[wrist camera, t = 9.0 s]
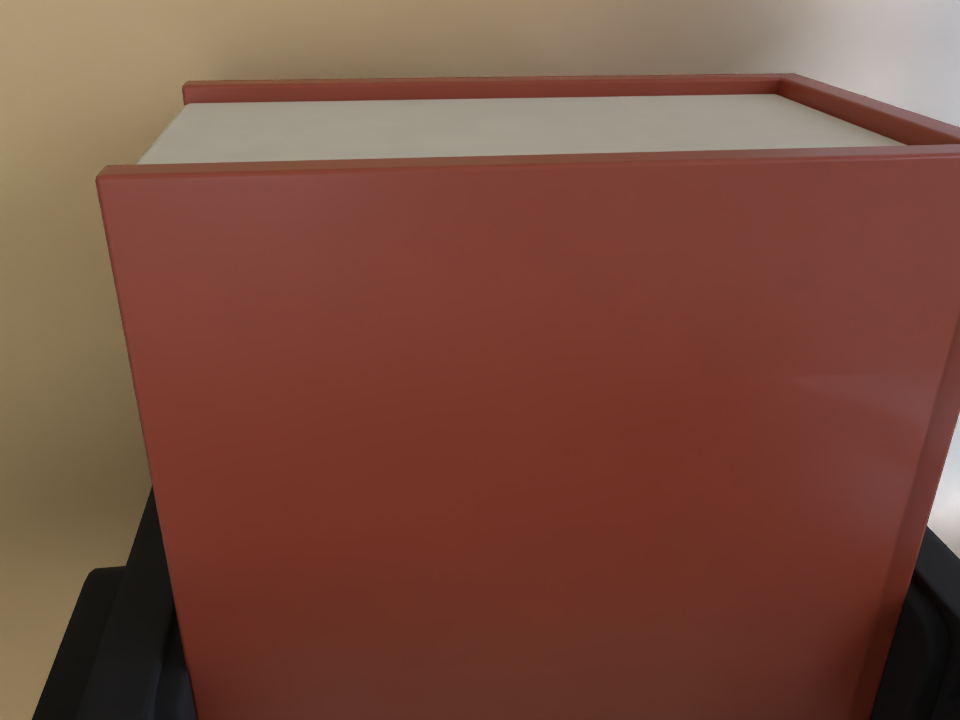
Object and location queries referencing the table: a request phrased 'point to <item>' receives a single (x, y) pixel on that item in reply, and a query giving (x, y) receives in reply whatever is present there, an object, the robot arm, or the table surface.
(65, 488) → the table surface
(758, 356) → the pocket book
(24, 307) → the table surface
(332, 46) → the table surface
